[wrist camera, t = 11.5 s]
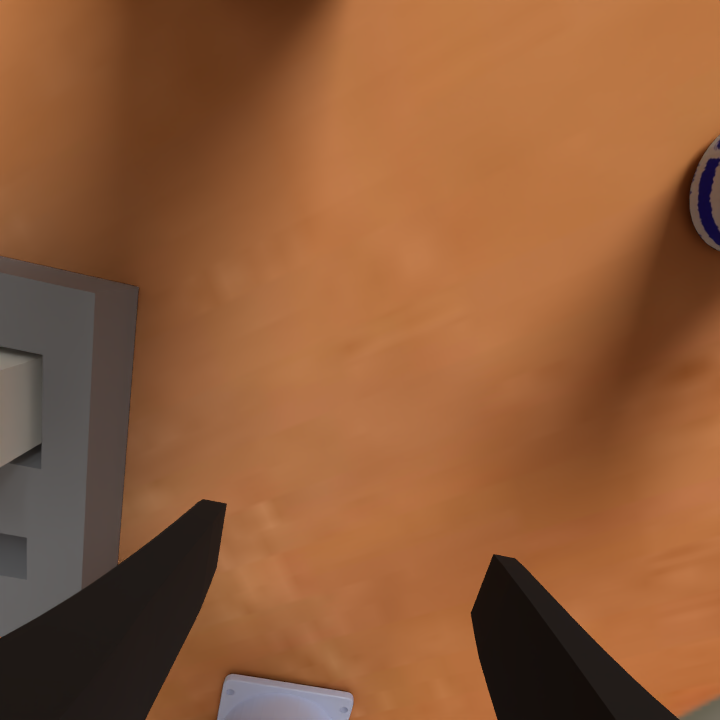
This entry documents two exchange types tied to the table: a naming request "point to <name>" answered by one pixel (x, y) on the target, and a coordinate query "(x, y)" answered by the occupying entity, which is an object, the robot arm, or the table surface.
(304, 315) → the table surface
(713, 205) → the beverage can
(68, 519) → the socket board
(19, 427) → the square peg
